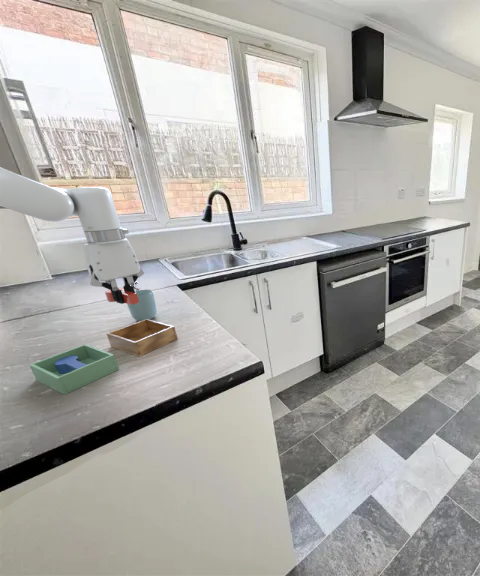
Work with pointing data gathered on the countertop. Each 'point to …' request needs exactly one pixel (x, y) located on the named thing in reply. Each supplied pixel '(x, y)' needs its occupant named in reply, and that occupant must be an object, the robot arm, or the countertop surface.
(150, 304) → the cup
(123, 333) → the oak bin
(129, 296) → the red t-shaped block
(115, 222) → the robot arm
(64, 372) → the blue block
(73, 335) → the countertop surface
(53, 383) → the sage bin
